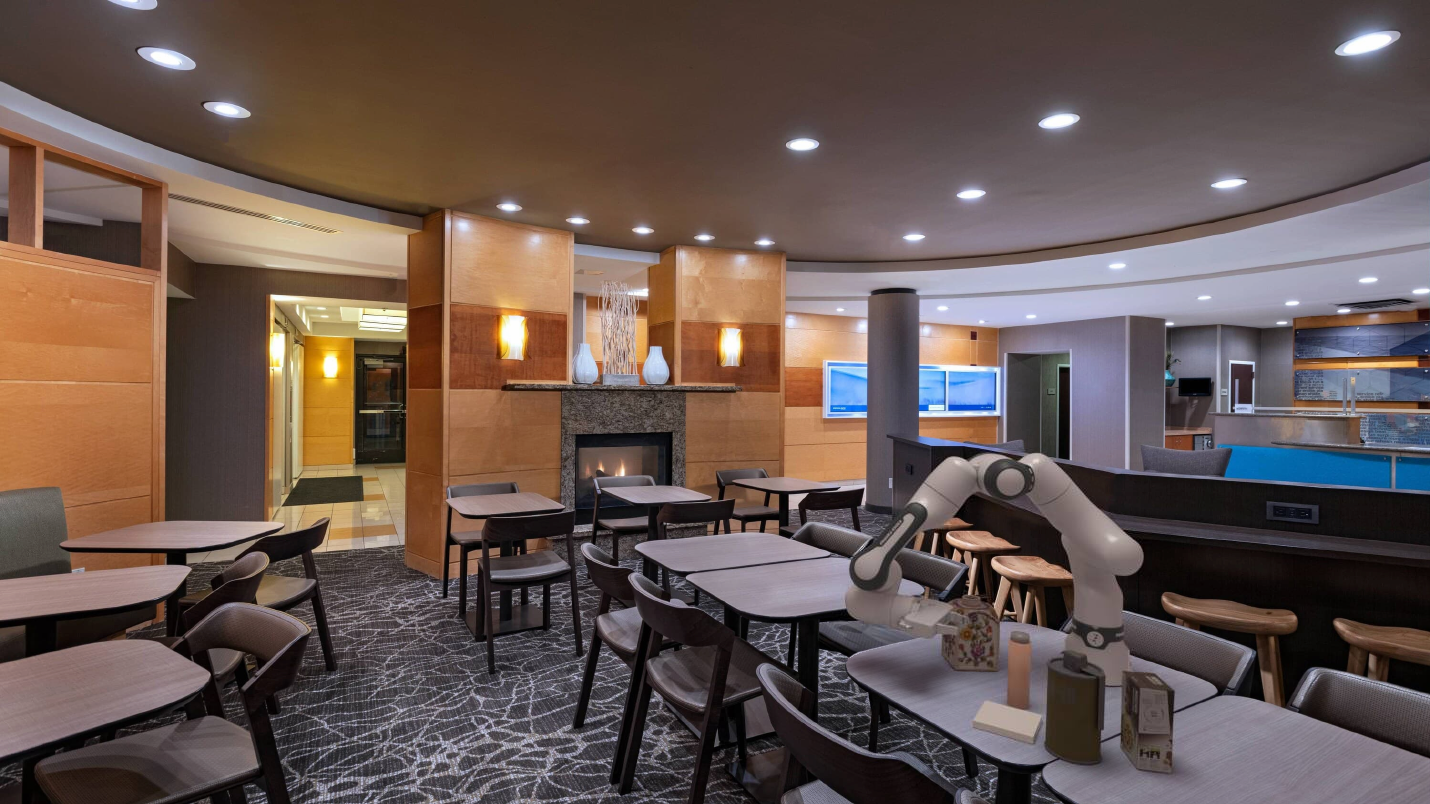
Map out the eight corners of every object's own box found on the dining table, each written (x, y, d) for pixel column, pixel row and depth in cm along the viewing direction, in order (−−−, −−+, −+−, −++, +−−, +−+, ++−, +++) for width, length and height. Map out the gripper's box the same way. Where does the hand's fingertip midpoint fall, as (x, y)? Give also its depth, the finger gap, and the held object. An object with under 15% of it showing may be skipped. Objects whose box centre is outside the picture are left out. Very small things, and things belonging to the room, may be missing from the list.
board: (985, 706, 158) (985, 700, 158) (1042, 721, 152) (1042, 714, 152) (972, 727, 148) (972, 720, 148) (1032, 744, 142) (1033, 736, 142)
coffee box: (1173, 774, 132) (1176, 691, 131) (1136, 769, 133) (1139, 687, 133) (1153, 750, 141) (1155, 672, 140) (1118, 746, 142) (1121, 668, 142)
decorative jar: (999, 672, 178) (1001, 604, 178) (954, 671, 179) (957, 602, 178) (982, 655, 190) (984, 590, 190) (940, 653, 191) (942, 589, 190)
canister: (1033, 745, 141) (1036, 649, 141) (1064, 733, 146) (1067, 641, 146) (1083, 771, 132) (1087, 668, 132) (1115, 758, 137) (1118, 659, 137)
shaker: (1009, 697, 163) (1011, 628, 163) (1030, 703, 161) (1033, 633, 160) (1004, 705, 159) (1007, 634, 159) (1027, 711, 157) (1029, 639, 156)
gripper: (894, 611, 166) (952, 624, 158) (919, 592, 183) (973, 603, 175) (892, 637, 166) (951, 651, 158) (918, 616, 183) (972, 627, 175)
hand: (963, 626), depth 167 cm, fingers open, 8 cm apart
